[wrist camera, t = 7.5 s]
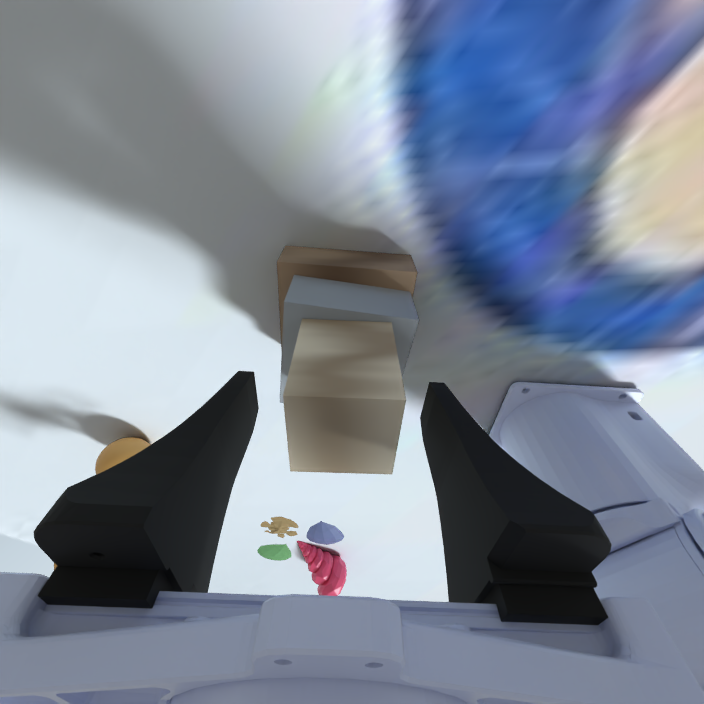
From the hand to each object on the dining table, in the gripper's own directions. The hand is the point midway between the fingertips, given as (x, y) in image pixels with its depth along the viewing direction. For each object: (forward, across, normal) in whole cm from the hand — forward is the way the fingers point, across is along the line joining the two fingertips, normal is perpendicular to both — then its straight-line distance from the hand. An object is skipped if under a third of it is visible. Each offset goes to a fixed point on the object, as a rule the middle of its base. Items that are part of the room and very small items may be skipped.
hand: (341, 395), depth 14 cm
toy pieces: (+9, +3, +30) cm, 31 cm away
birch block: (+3, 0, 0) cm, 3 cm away
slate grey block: (+6, 0, 0) cm, 6 cm away
